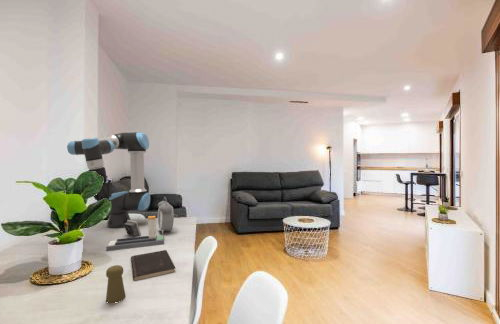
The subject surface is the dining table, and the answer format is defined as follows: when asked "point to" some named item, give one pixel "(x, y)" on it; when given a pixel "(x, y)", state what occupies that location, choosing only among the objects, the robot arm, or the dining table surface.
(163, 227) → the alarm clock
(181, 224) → the dining table surface
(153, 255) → the hardcover book
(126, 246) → the panel
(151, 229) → the breaker handle
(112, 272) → the cork
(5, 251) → the dining table surface
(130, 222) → the electrical switch
